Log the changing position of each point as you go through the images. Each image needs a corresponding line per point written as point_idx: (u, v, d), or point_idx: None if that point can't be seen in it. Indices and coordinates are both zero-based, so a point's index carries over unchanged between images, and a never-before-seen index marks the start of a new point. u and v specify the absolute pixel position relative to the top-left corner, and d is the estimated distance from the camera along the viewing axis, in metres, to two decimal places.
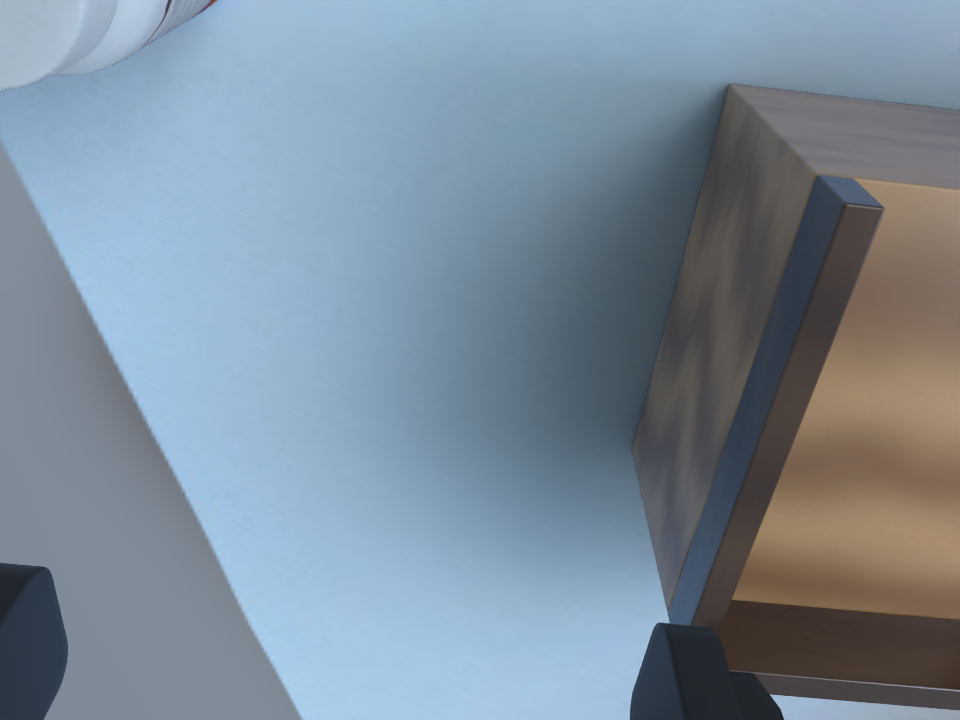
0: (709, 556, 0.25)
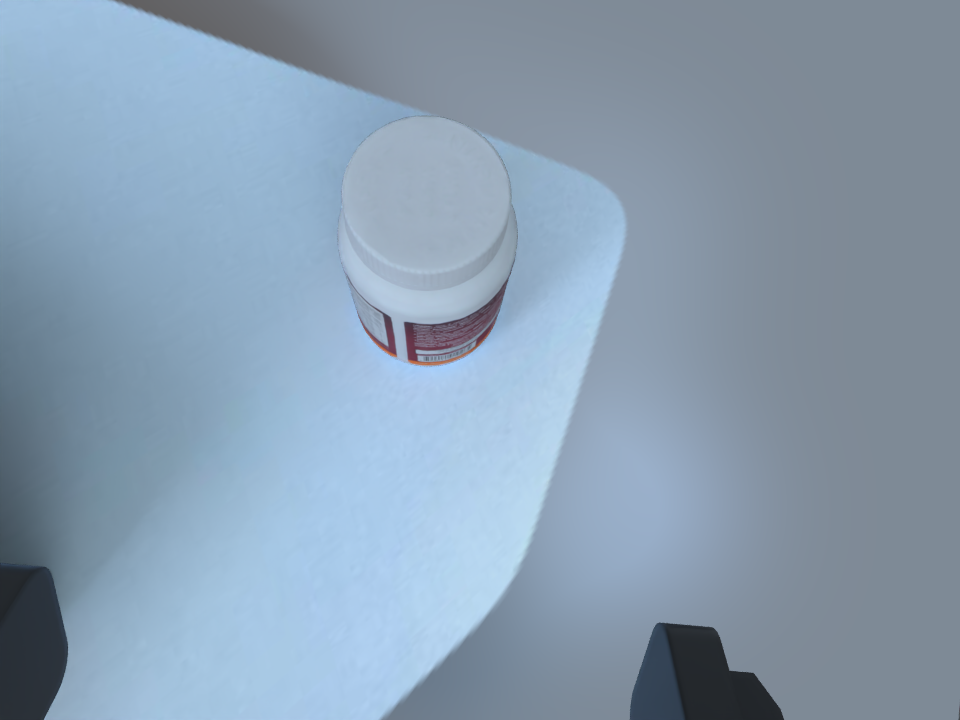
0: None
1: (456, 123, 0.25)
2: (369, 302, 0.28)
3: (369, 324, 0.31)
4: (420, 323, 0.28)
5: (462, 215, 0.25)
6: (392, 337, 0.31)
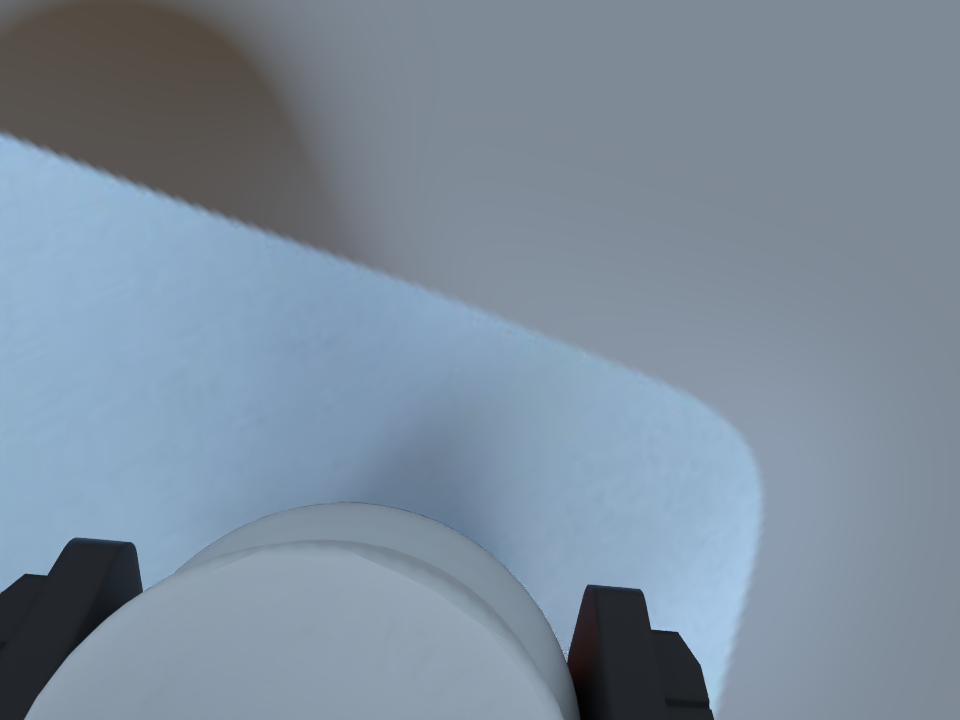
0: None
1: (402, 573, 0.07)
2: None
3: None
4: None
5: None
6: None
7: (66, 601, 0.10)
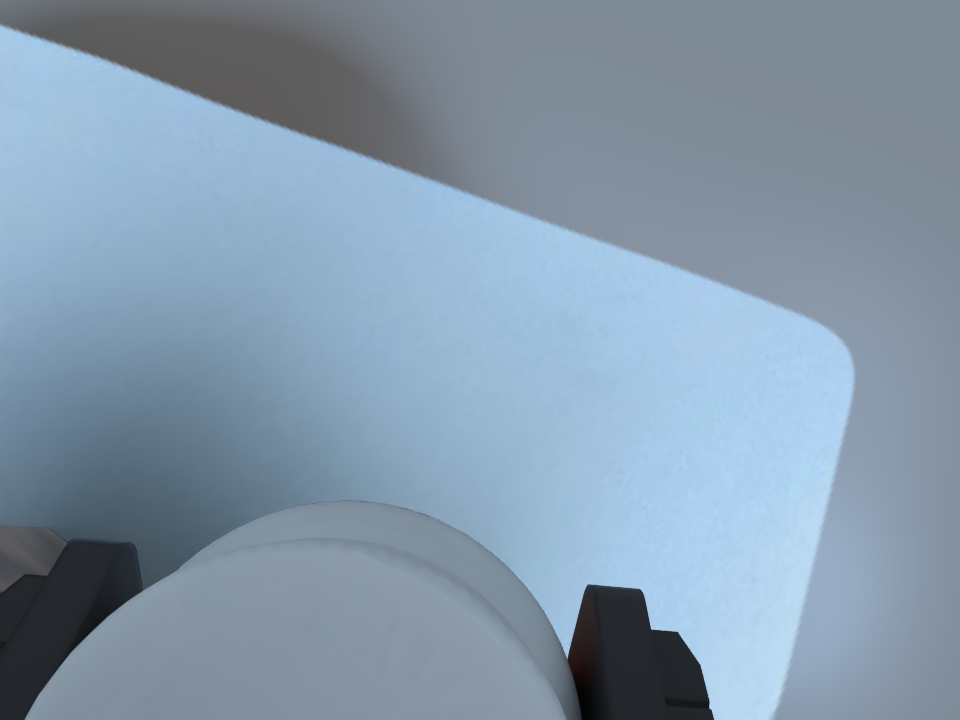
0: None
1: (404, 571, 0.07)
2: None
3: None
4: None
5: None
6: None
7: (66, 601, 0.10)
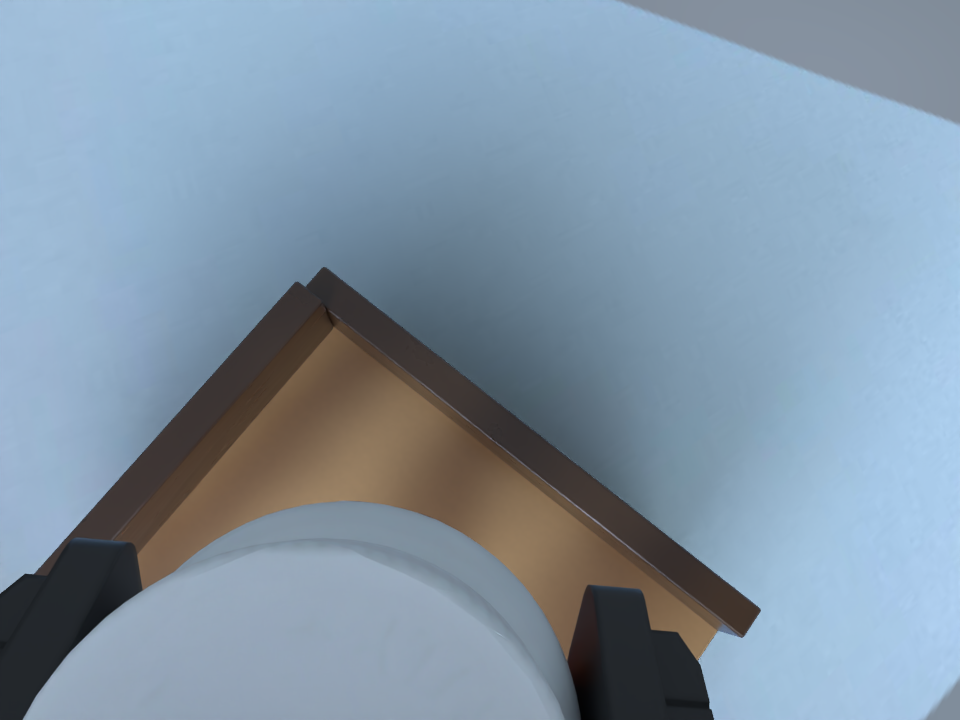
0: None
1: (402, 572, 0.07)
2: None
3: None
4: None
5: None
6: None
7: (66, 601, 0.10)
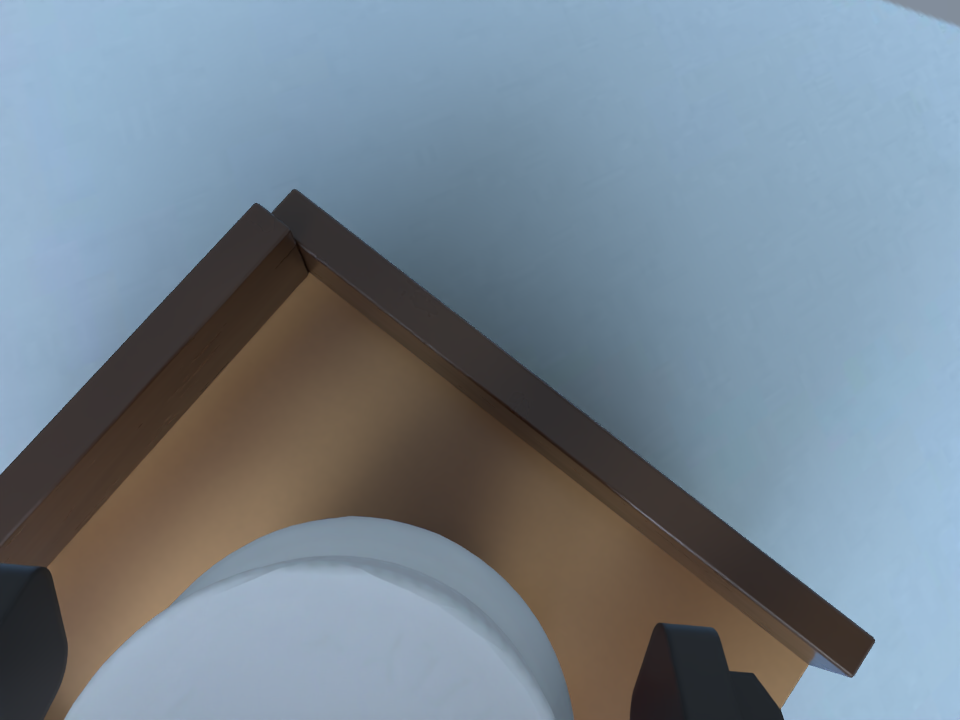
0: None
1: (408, 590, 0.08)
2: None
3: None
4: None
5: None
6: None
7: None
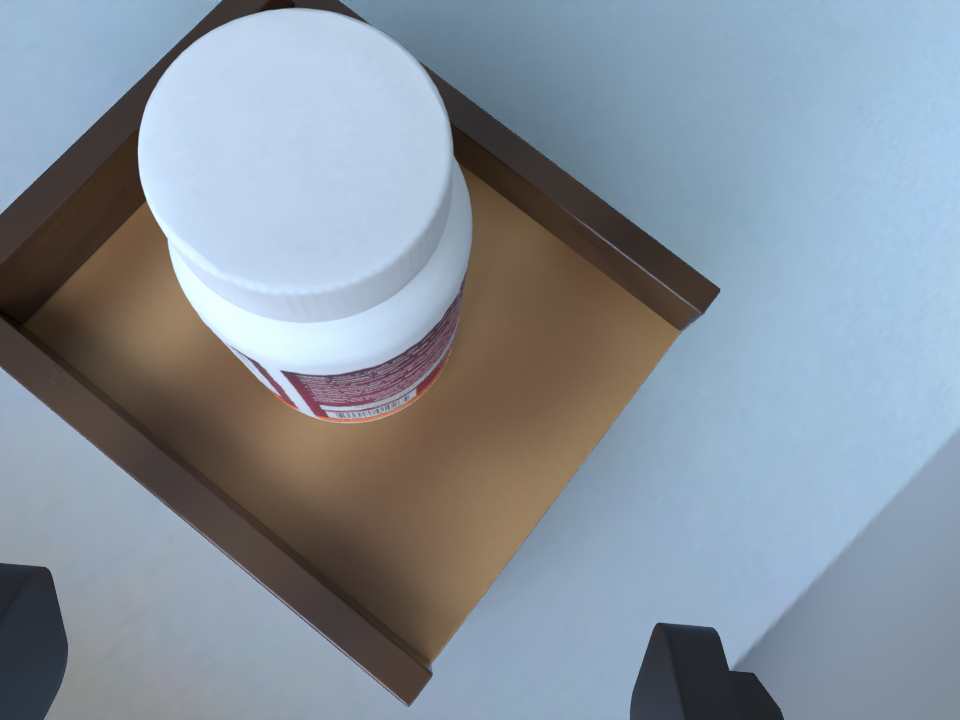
0: None
1: (356, 23, 0.14)
2: (220, 337, 0.16)
3: None
4: (306, 373, 0.17)
5: (360, 186, 0.13)
6: (278, 387, 0.20)
7: None
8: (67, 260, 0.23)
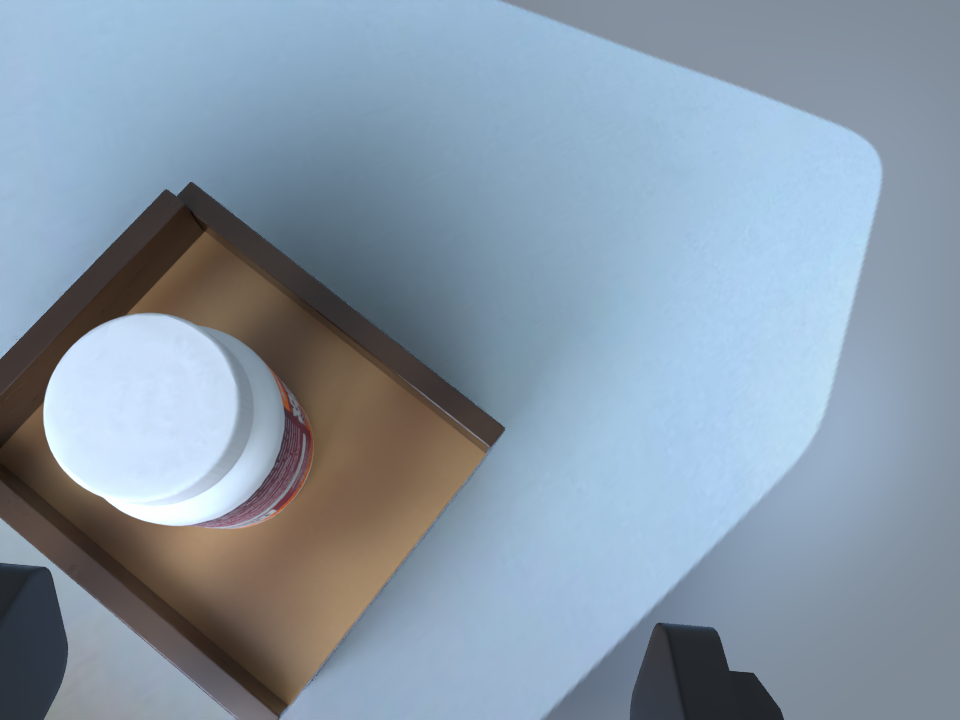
0: None
1: (182, 322, 0.22)
2: None
3: None
4: (169, 524, 0.25)
5: (180, 431, 0.22)
6: None
7: None
8: (24, 409, 0.32)
